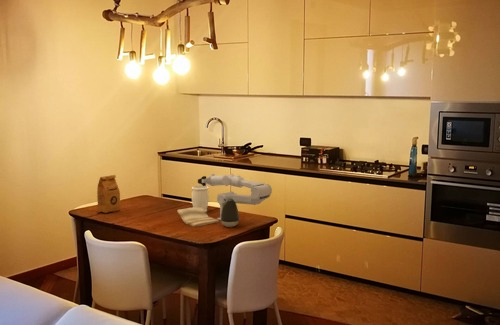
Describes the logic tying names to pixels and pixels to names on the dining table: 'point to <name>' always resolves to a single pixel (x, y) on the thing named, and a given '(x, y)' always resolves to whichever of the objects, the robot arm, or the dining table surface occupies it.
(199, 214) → the cream folded cloth
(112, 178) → the coffee package
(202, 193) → the jar
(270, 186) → the robot arm
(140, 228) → the dining table surface
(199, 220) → the folded beige cloth
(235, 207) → the smart speaker
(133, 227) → the dining table surface
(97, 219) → the dining table surface
